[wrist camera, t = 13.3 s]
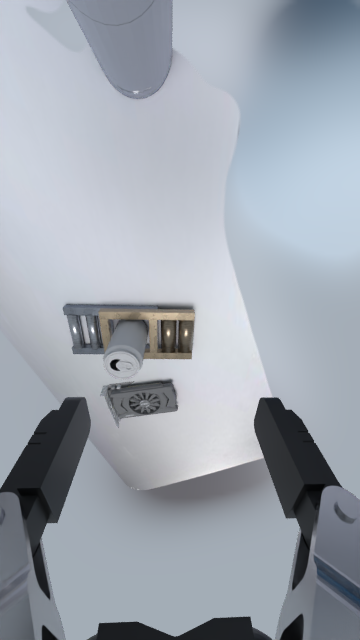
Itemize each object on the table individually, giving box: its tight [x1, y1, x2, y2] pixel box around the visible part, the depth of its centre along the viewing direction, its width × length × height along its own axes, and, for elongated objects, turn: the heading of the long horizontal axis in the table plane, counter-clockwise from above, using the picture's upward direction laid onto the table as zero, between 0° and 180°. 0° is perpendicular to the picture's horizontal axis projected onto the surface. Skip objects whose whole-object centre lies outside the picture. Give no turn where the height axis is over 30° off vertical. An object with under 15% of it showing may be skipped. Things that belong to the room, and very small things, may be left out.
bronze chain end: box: [98, 308, 195, 359], centre depth 45 cm, size 11×18×3 cm, turn 88°
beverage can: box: [103, 319, 148, 379], centre depth 41 cm, size 6×6×12 cm
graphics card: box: [100, 381, 178, 428], centre depth 55 cm, size 17×4×12 cm
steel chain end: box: [63, 305, 158, 354], centre depth 45 cm, size 11×18×2 cm, turn 88°
